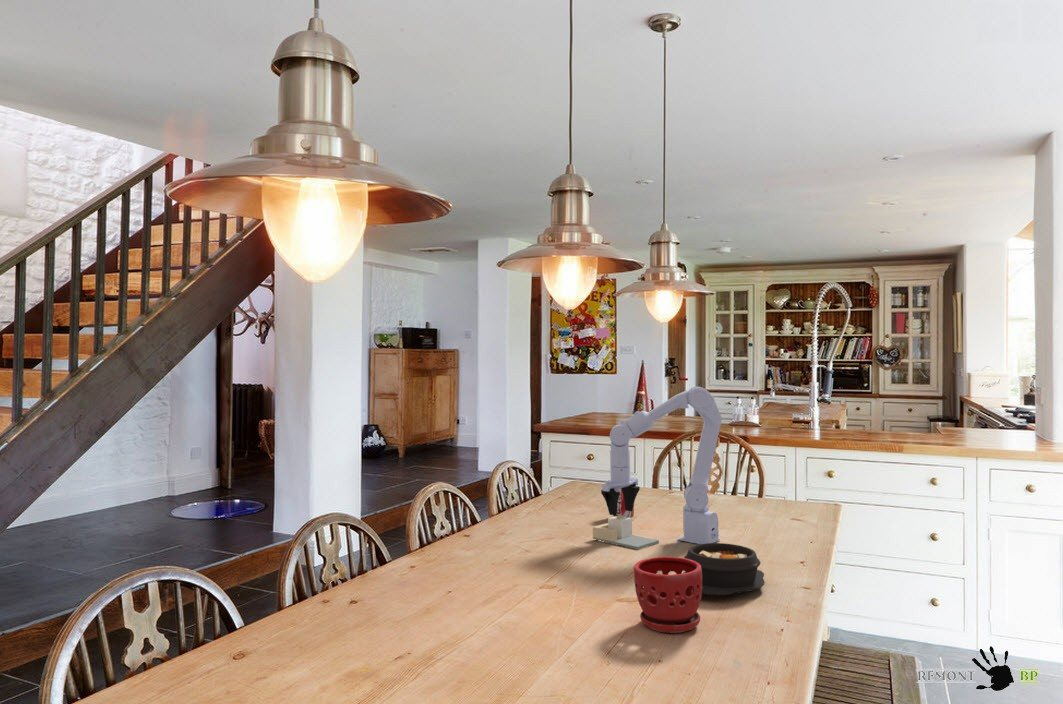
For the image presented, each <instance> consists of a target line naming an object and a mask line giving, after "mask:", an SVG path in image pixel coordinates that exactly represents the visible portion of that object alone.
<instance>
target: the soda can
mask: <svg viewBox="0 0 1063 704" xmlns="http://www.w3.org/2000/svg"><path fill="white" fill-rule="evenodd" d="M615 491H616V492H620V495H619V498H618V503H617V514H616V515H612V516H613V517H616V516H623V517H628V518H632V519H633V517H634V515H635V505H634V506H633V510H632V511H626V510H625V504H624V496H623V492H622V489H621V488H619V489H615Z"/></svg>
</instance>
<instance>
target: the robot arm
mask: <svg viewBox="0 0 1063 704" xmlns="http://www.w3.org/2000/svg"><path fill="white" fill-rule="evenodd" d="M689 406H690V407H691V408H693V409H694V410H695V411H697V412H698V415H699V416H700V417H701V419H702V420H703V425H702V428H701V429H702V430H701V432H700V438H699V442H698V443H699V444H698V446H697V447H698V448H697V452H696V455H695V460H694V465H693V470H692V474H691V476H690V479H689V482H688V484H687V486H686V487H685V489H684V490H683V496H684V499H685V503H686V504H685V505H684V506H683V511H682V512H683V517H682V519H683V536H680V537H677V541H682V542H687V543H691V544H695V545H699V544H706V543H718V542H719V541H721V540H720V537H719V516H718V515H717V513H716V512H713V511H711V510H710V507H709V506H708V503H709V496H708V489H709V478H710V474H711V469H712V464H713V459H714V456H715V451H716V447H717V442H718V438H719V434H720V429H721V424H722V415H721V413H720V410H719V407H718V406H717V403H716V400H715V398H714V396H713V395H712V394H711V392H710V391H709V390H708V389H707V388H704V387H701V386H693V387H691V388H689V390H684V391H682V392H680V393H677V394H675V395H674V396H672V397H670V398H669V399H667V400H666V401H664V402H663V403H661V404H659V405H658V406H655V408H653V409H652V410H650V411H645V410H641V411H638V410H637V411H635V412H634V415H633V416H630V417H629V418H627V419H625V420H620V424H617V425H614V426H613V427H612V428H611V429H610V433H609V439H610V441H611V442H610V450H609V452H610V454H609V457H610V459H609V460H610V479H609V480H607V482H606V483H605V482H604V483H602V484H601V485H602V486H601V488H602V489H601V490H600V491H601V492H600V493H601V496H602V497H603V499H604V501H605V503H606V507H607V511H608V513H609V514H608V515H611V516H613V515H616V514H617V503H618V498H619V495H620V492H616V491H615V489H619V488H621V489H622V492H623V496H624V504H625V510H626V511H632V510H633V506H634V507H635V501H636V497H637V495H638V494H639V492H640V489H641V488H640V486H639V478H634V477H631V451H630V449H629V448H630V445H629V442H630V439H635V438H637V437H638V436H641V435H642V434H643V433H645V432H647V431H649V430H651V429H653V428H654V427H653V426H654V422H656V421H657V420H659V419H661V418H663V417H664V416H667V415H668V414H670V413H672V412H674V411H676V410H677V409H689Z"/></svg>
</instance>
